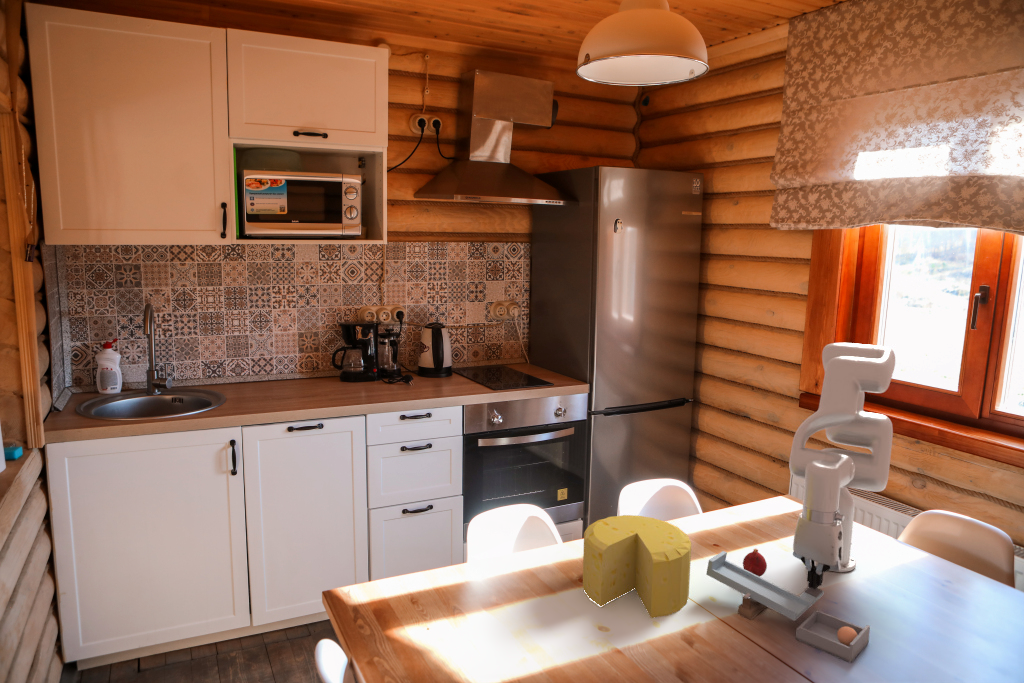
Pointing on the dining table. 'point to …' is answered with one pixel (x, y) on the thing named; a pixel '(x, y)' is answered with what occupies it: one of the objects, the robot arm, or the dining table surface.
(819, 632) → the dish
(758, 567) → the onion
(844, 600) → the dining table surface
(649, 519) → the cheese
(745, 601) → the fulcrum
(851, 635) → the ball
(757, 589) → the lever
